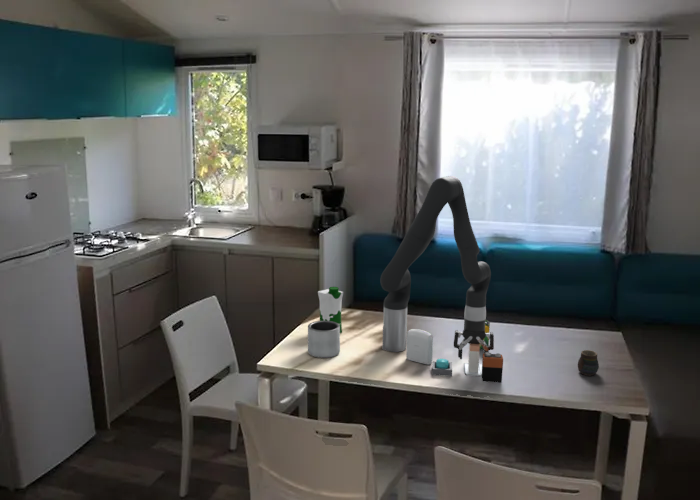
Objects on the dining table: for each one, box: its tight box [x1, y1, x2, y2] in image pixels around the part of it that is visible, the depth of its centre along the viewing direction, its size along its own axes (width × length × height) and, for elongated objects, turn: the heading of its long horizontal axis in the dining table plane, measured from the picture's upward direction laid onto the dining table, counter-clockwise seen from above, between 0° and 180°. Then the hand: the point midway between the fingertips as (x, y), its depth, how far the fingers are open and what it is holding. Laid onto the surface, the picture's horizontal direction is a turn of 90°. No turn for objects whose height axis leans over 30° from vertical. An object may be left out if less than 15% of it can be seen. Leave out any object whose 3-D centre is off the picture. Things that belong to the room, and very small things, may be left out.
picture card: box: [463, 362, 482, 377], centre depth 242 cm, size 12×10×1 cm
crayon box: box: [479, 319, 491, 351], centre depth 264 cm, size 7×3×12 cm, turn 23°
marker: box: [467, 343, 481, 372], centre depth 240 cm, size 3×3×10 cm
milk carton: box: [317, 286, 344, 334], centre depth 278 cm, size 9×9×20 cm
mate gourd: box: [577, 349, 600, 377], centre depth 239 cm, size 7×8×10 cm
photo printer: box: [405, 328, 434, 365], centre depth 249 cm, size 10×4×12 cm, turn 55°
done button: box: [435, 358, 449, 369], centre depth 240 cm, size 4×4×3 cm
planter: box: [307, 320, 341, 359], centre depth 257 cm, size 12×13×11 cm
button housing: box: [431, 360, 453, 377], centre depth 241 cm, size 7×7×2 cm
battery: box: [481, 351, 504, 383], centre depth 233 cm, size 4×7×10 cm, turn 83°
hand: (472, 359), depth 241 cm, fingers open, 8 cm apart
